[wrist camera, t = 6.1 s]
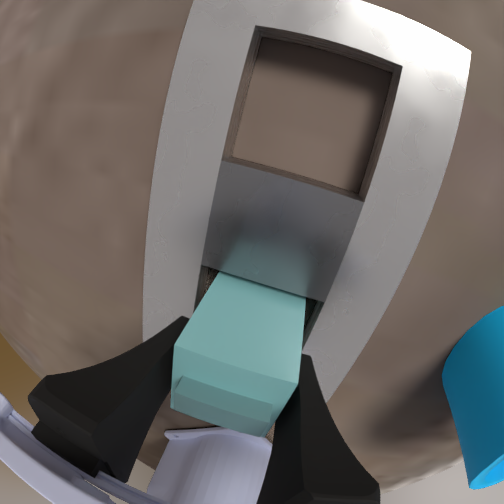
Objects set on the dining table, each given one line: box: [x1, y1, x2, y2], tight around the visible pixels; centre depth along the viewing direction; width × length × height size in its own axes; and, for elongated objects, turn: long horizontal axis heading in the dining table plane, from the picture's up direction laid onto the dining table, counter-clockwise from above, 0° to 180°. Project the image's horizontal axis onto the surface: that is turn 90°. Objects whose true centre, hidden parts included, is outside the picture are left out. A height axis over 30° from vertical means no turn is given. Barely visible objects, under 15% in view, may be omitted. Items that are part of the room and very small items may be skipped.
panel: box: [143, 0, 471, 403], centre depth 12 cm, size 20×11×2 cm, turn 167°
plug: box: [171, 271, 306, 438], centre depth 12 cm, size 4×4×7 cm
